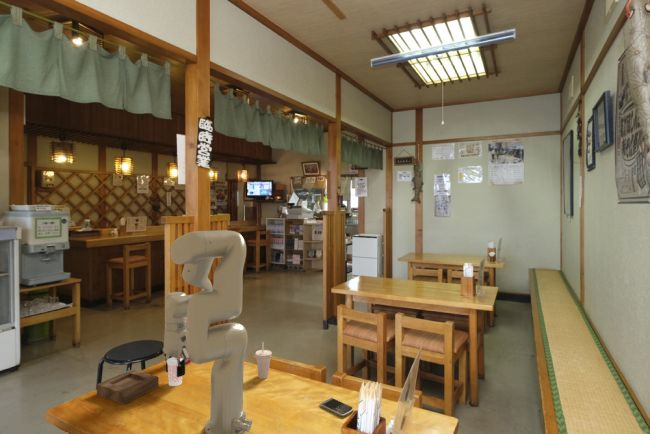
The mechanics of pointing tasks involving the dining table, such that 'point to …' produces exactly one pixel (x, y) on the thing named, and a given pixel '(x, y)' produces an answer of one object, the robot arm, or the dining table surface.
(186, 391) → the dining table surface
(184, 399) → the dining table surface
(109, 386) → the walnut tray
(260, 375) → the smoothie
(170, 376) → the beverage cup
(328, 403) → the cell phone
